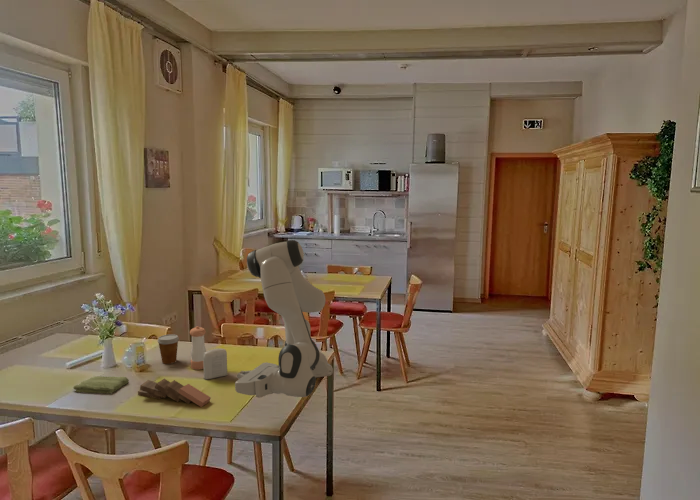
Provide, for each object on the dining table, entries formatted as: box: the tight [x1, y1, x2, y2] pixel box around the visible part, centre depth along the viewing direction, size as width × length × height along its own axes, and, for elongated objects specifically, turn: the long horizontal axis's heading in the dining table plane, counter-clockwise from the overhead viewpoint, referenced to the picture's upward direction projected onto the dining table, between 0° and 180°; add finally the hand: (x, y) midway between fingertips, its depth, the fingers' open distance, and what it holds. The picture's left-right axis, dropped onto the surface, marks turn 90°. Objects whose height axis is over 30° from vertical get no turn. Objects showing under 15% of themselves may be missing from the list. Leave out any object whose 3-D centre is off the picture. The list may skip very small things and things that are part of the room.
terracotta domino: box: [179, 383, 212, 408], centre depth 189 cm, size 2×5×11 cm
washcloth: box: [72, 376, 130, 394], centre depth 204 cm, size 13×18×3 cm
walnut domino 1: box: [139, 379, 168, 399], centre depth 195 cm, size 2×5×11 cm
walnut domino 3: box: [155, 378, 182, 403], centre depth 193 cm, size 2×5×11 cm
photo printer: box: [203, 348, 228, 380], centre depth 215 cm, size 10×4×12 cm, turn 123°
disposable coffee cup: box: [157, 333, 180, 365], centre depth 233 cm, size 10×10×12 cm
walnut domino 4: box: [165, 380, 193, 405], centre depth 191 cm, size 2×5×11 cm
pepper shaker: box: [189, 325, 207, 371], centre depth 226 cm, size 7×7×19 cm
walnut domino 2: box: [137, 389, 164, 400], centre depth 197 cm, size 2×5×11 cm
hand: (239, 374), depth 181 cm, fingers closed
